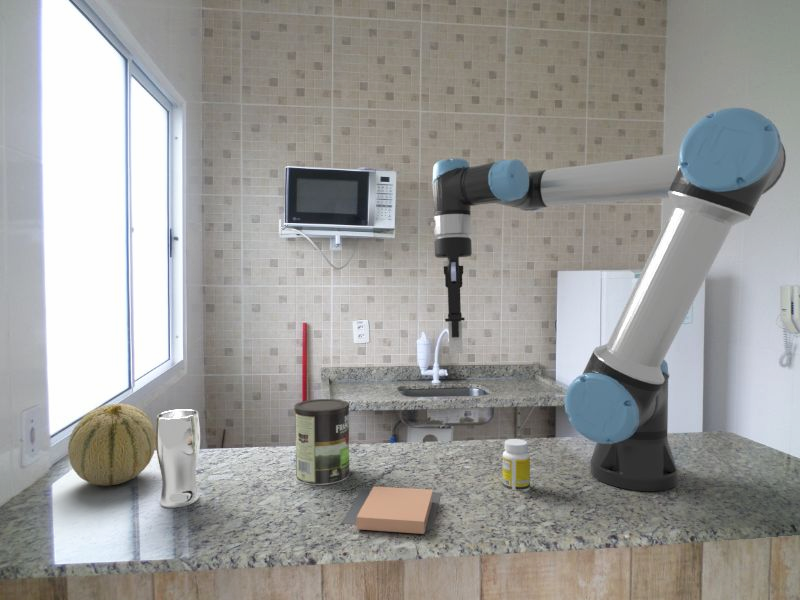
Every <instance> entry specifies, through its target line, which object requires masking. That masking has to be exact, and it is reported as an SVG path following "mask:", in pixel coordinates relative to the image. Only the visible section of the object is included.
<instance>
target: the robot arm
mask: <svg viewBox="0 0 800 600" xmlns="http://www.w3.org/2000/svg"><path fill="white" fill-rule="evenodd" d="M678 152H679V153H671V154H664V155H662V154H661V155H655V156H646V157H638V158H632V159H631V158H629V159H623V160H615V161H608V162H607V161H605V162H599V163H593V164H590V163H589V164H583V165H575V166H566V167H559V168H552V169H550V168H549V169H544V170H543V169H542V170H535V171H528V168H527V166H525V164H524V162H523V161H521V159H516V158H515V159H501V160H498V161H495V162H489V163H485V164H481V165H476V166H470V163H469V162H468V160H467V159H464V158H449V159H448V158H446V159H441V160H439V161H437V162H435V164H434V165H433V167H432V181H431V188H432V196H433V198H432V200H433V221H432V222H431V223H430V227H434V230H433V231H434V233H433V234H434V236H435V237H436V239H435V240H434V242H433V244H434V256H435V257H436V258H437V259H438V258H441V259H446V258H447V266H446V265H445V266H444V265H443V275H444V277H445V278H444V280H445V281H444V282H445V283H444V284H445V288H447V300H448V301H447V302H448V303H447V305H448V306H447V308H448V309H447V310H448V311H447V312H448V313H447V318H444V320H445V322H446V323H447V324H448V325H447V326H448V327H447V328H448V351H449V352H448V353H449V354H450V355H452V354H453V355H454V354H455V355H457V354H463V323H462V322H464V321H465V317H463V315H462V309H461V306H462V305H461V288H462V287H463V274H464V265H460V262H459V261H460V259H459V258H468V257H471V255H473V254H472V253H473V251H472V249H473V248H472V239H471V238H470V236H472V216H471V215H472V214H471V206H472V207H474V206H481V205H488V204H489V205H490V204H498V205H503V206H507V207H512V208H514V209H515V208H516V209H519V210H521V211H525V212H526V211H529V212H532V211H533V212H534V211H539V210H541V209H543V208H550V207H564V206H565V207H566V206H578V205H591V204H592V205H593V204H604V203H615V202H616V203H619V202H631V201H632V202H633V201H644V200H645V201H646V200H658V199H670V201H671V205H672V206H671V207H672V208H671V210H670V212H669V213H668V216H667V218H666V221H665V222H664V224H663V226H662V229H661V230H660V233H659V235H658V236H657V238H656V241H655V243H654V246H653V247H652V249H651V252H650V253H649V256H648V257H647V260H646V262H645V265H644V266H643V268H642V270H641V273H640V274H639V276H638V279H637V281H636V283H635V285H634V288H633V290H632V291H631V293H630V295H629V298H628V300H627V302H626V304H625V306H624V308H623V311H622V312H621V315H620V317H619V319H618V321H617V323H616V325H615V327H614V329H613V331H612V333H611V336H610V338H609V340H608V342H607V343H605V344H603V345H599V346H595V348H594V349H593V351H592V354H591V355H590V358H589V359H588V362H587V364H586V366H585V368H584V370H583V371H582V372H583V373H582V374H581V375H578V376H576V378H574V379H573V380H572V382H571V383H570V384H569V386H568V387H567V388H566V391H565V394H564V410H565V413H566V415H567V418H568V420H569V423H570V424H571V426H572V427H573V428H574V429H575V430H576V431H577V432H578V433H579V434H580V435H581V436H583V437H584V438H586V439H587V440H590V441H591V442H594V443H595V447H594V450H593V452H592V455H591V458H590V470H589V471H590V475H592V477H593V478H594V479H596V480H598V481H600V482H602V483H604V484H606V485H610V486H613V487H617V488H621V489H626V490H631V491H632V490H633V491H640V492H641V491H642V492H660V491H667V490H670V489H671V490H672V488H675V487H676V486H677V485H678V483H679V482H678V481H679V480H678V479H679V477H678V476H679V471H678V468H677V467H678V466H677V464H676V462H675V459H674V455H673V452H672V450H671V446H670V443H669V440H668V427H669V425H668V423H669V422H668V421H669V413H668V411H669V380H670V373H669V367H668V362H667V361H666V359H665V358H666V356H667V354H668V352H669V350H670V348H671V346H672V344H673V342H674V340H675V338H676V336H677V334H678V332H679V330H680V328H681V326H682V325H683V323H684V320H685V319H686V316H687V315H688V313H689V311H690V309H691V307H692V305H693V303H694V302H695V299H696V297H697V295H698V293H699V291H700V290H701V288H702V285H703V283H704V282H705V280H706V277H707V276H708V274H709V272H710V270H711V268H712V266H713V264H714V262H715V261H716V259H717V257H718V255H719V253H720V251H721V249H722V247H723V245H724V243H725V241H726V239H727V237H728V235H729V233H730V231H731V229H732V228H733V226H735V225H737V224H740V223H741V222H742V223H743V222H744V221H747V220H749V219H750V218H751V216H752V214H753V212H754V210H755V208H756V207H757V205H758V202H759V201H760V198H761V197H762V196H763V195H764V194H766V193H767V192H769V191H770V190H771V189H772V188H773V187H774V186H775V185H777V183H778V182H779V180H780V179H781V177H782V175H783V173H784V171H785V167H786V163H787V162H786V161H787V155H786V150H785V148H784V145H783V143H782V139H781V135H780V133H779V130H778V128H777V126H776V125H775V124H774V123H773V122H772V120H770V119H769V118H767V117H766V116H764V115H763V114H762V113H760V112H757V111H755V110H753V109H750V108H745V107H730V108H729V107H727V108H722V109H720V110H716V111H714V112H711V113H709V114H707V115H706V116H703V117H702V118H701V119H699V120H698V121H696V122H695V123H693V125H692V126H691V127H690V128H689V130H687V132H686V134H685V135H684V137H683V139H682V141H681V143H680V146H679V151H678Z"/></svg>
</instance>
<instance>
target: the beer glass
mask: <svg viewBox="0 0 800 600" xmlns="http://www.w3.org/2000/svg"><path fill="white" fill-rule="evenodd" d="M155 436H156V445H155V450H156V454H157V455H156V456H157V461H158V465H159V470H160V475H161V483H162V485H161V495H160V499H159V504H160V505H161V506H162V507H163V508H168V509H175V508H176V509H177V507H178V508H183V507H188V506H191V505H192V504H194V503H195V502H198V500H199V491H198V486H197V477H196V476H197V468H198V467H197V466H198V460H199V454H200V447H201V427H200V420H199V411H198V410H195V409H186V408H185V409H183V408H182V409H173V410H167V411H163V412H160V413H158V414H157V415H156V424H155Z"/></svg>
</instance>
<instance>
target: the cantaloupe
mask: <svg viewBox="0 0 800 600" xmlns="http://www.w3.org/2000/svg"><path fill="white" fill-rule="evenodd" d="M67 447H68V448H67V452H68V454H67V455H68V459H69V462H70V466H71V468H72V469H73V471H74V472H75V474H76V475H77V476H78V477H79V478H80V479H82V480H84V481H85V482H87V483H89V484H93V485H95V486H96V485H98V486H105V487H107V486H116V485H119V484H120V485H121V484H123V483H126V482H128V481H130V480H132V479H134V478H136V477H137V476H139V475H140V474H141V473H142V472H143V471H144V470H145V469H146V468H147V467H148V465H149V464H150V462H151V461H152V459H153V456H154V454H155V450H156V430H155V429H154V425H153V422H152V420H151V419H150V417H149V416H148V415H147V414H146V413H145V412H144V411H143V410H141V409H140V408H138V407H135V406H133V405H131V404H127V403H114V404H113V403H112V404H106V405H102V406H99V407H98V408H95V409H93V410H90V411H89V412H87V413H86V414H85V415H84V416H82V418H81V419H80V420H79V422H78V423H77V424H76V425H75V426H74V428H73V430H72V431H71V434H70V435H69V441H68V446H67Z"/></svg>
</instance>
